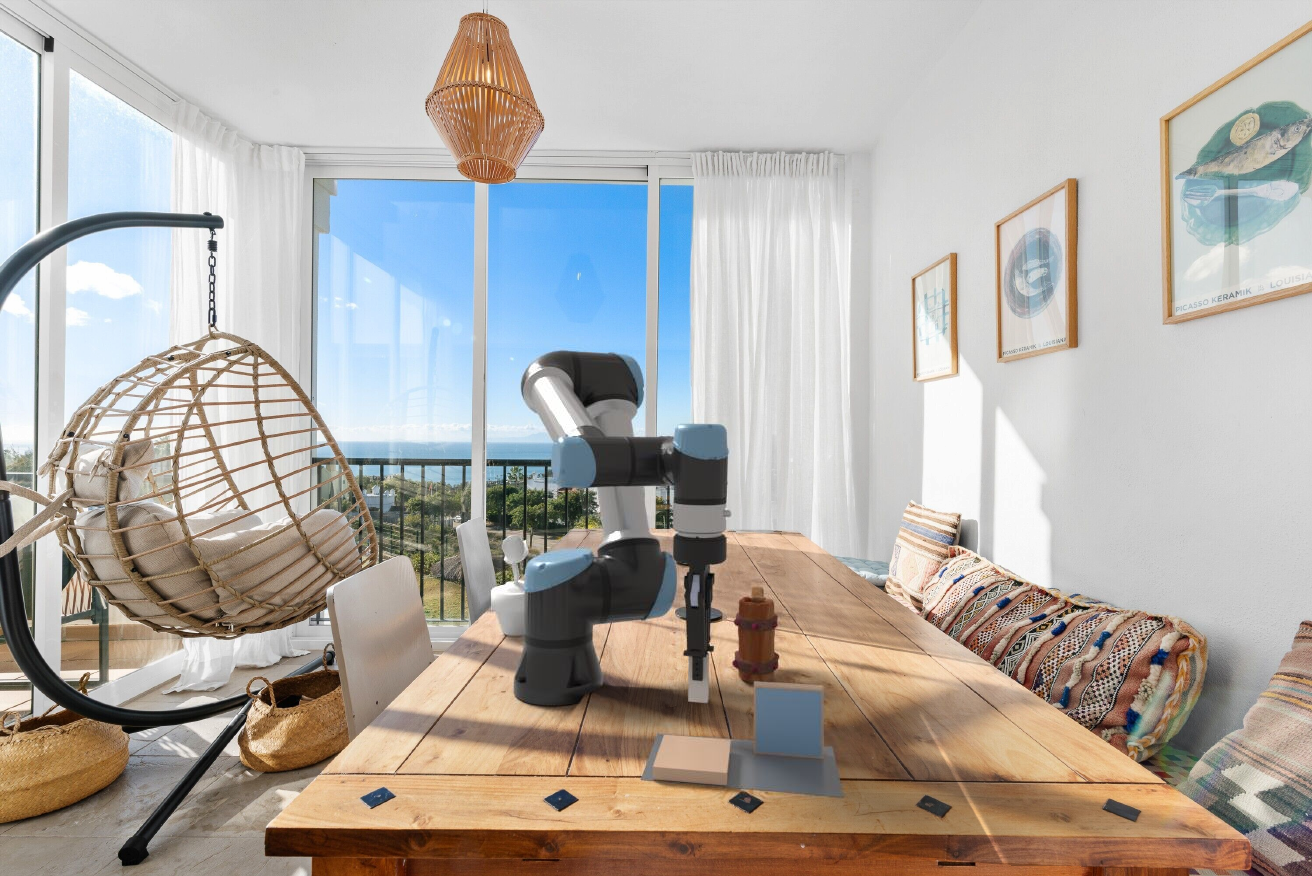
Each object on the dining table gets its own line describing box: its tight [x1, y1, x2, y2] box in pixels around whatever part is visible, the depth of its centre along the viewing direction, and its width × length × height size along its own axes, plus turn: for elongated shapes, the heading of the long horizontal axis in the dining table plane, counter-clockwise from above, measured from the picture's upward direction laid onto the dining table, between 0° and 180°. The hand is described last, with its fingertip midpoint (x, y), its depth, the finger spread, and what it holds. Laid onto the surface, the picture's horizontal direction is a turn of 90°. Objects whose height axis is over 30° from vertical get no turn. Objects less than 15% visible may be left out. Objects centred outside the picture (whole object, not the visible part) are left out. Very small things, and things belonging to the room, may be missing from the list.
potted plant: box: [490, 528, 540, 637], centre depth 148 cm, size 13×12×25 cm
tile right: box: [753, 681, 825, 759], centre depth 88 cm, size 9×2×9 cm, turn 81°
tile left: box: [653, 734, 731, 785], centre depth 85 cm, size 9×2×9 cm
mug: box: [731, 586, 780, 684], centre depth 122 cm, size 15×8×15 cm, turn 168°
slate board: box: [640, 733, 844, 799], centre depth 86 cm, size 24×13×1 cm, turn 81°
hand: (698, 700), depth 94 cm, fingers closed
